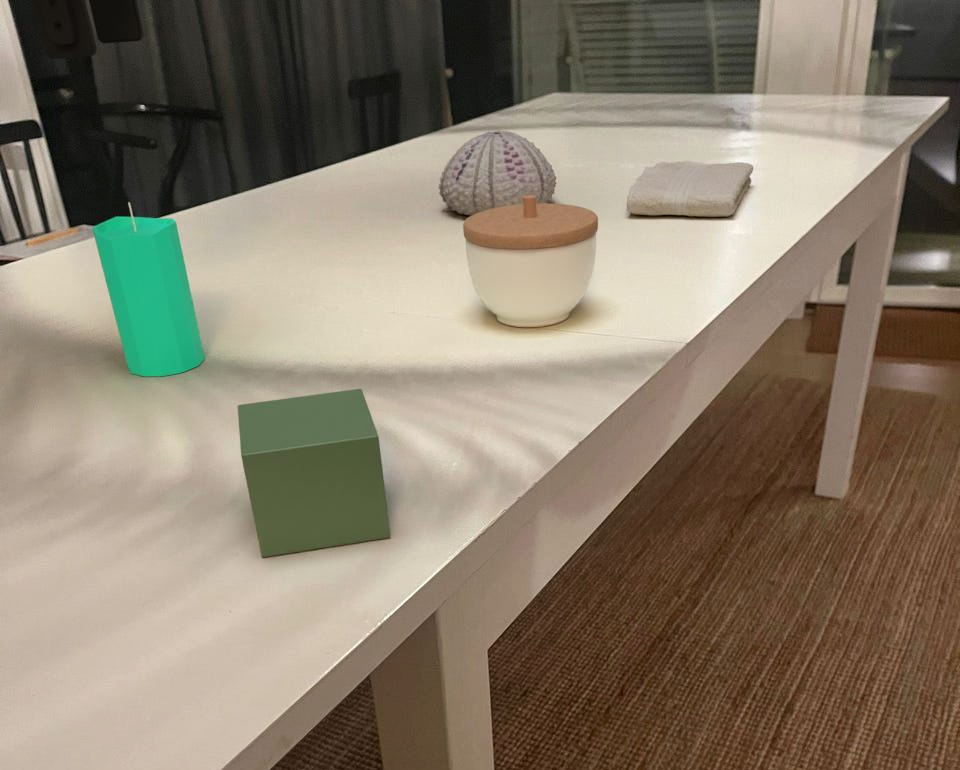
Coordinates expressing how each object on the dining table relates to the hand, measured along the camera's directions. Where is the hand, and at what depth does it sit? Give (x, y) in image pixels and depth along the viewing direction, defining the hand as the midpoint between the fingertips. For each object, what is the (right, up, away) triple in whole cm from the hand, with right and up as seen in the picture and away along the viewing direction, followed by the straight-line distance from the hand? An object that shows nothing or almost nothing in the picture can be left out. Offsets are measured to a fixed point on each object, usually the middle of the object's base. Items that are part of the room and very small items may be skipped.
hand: (98, 48), depth 70 cm
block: (+17, -33, -11) cm, 39 cm away
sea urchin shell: (+28, +10, +50) cm, 58 cm away
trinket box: (+30, -13, +17) cm, 37 cm away
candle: (+1, -18, +12) cm, 22 cm away
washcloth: (+50, +10, +48) cm, 70 cm away
